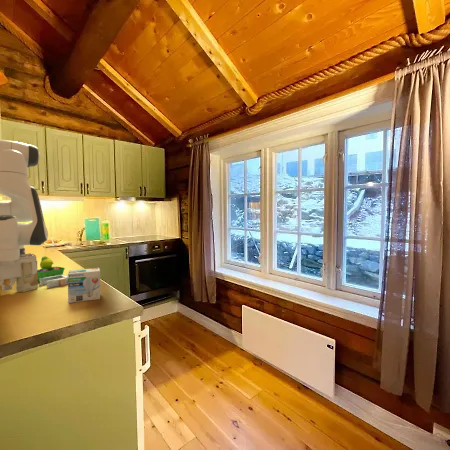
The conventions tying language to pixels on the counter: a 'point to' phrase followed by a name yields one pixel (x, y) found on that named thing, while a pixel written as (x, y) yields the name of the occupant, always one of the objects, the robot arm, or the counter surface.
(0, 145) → the robot arm
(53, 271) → the fruit basket
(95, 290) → the light bulb box
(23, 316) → the counter surface
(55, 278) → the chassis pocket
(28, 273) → the skincare box
